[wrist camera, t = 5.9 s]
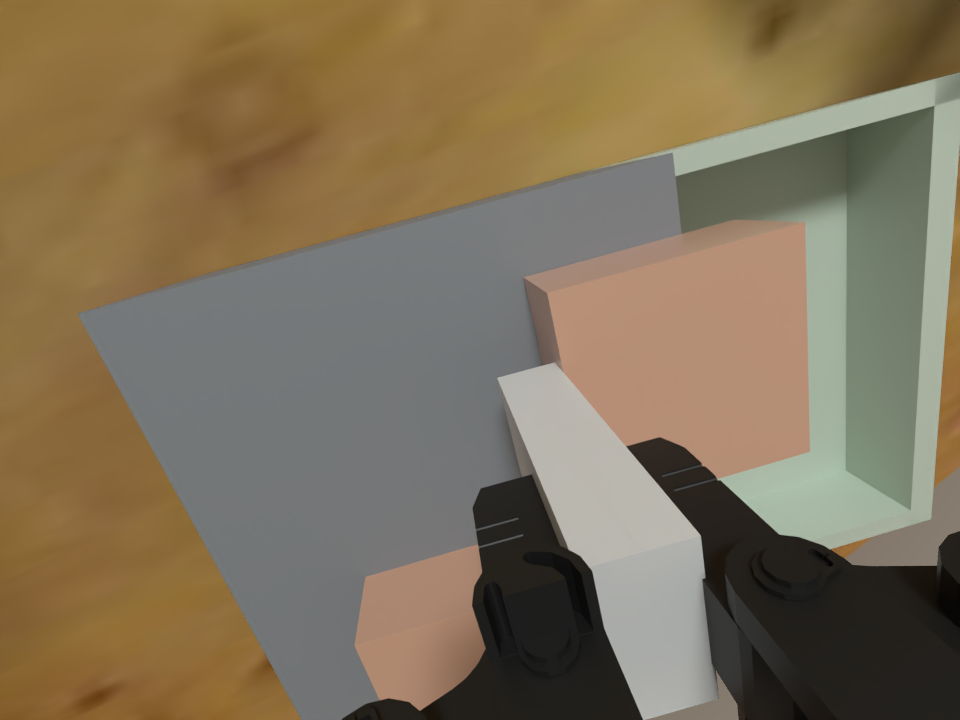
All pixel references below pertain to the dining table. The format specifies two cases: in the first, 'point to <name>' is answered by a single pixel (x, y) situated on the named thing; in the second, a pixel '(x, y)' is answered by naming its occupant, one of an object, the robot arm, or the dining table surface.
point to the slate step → (356, 399)
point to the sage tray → (850, 294)
